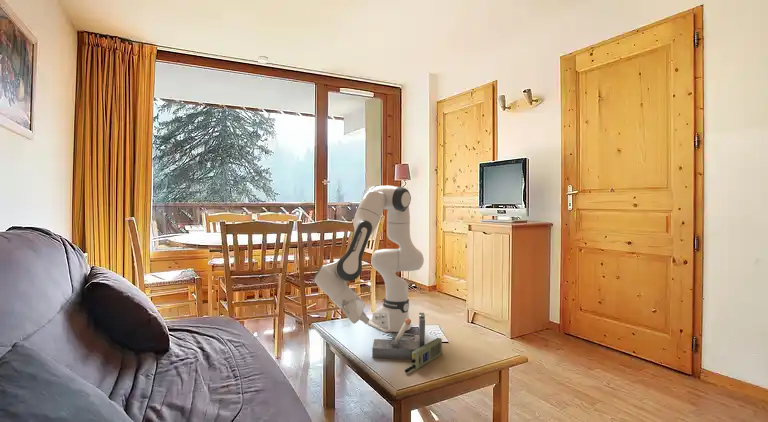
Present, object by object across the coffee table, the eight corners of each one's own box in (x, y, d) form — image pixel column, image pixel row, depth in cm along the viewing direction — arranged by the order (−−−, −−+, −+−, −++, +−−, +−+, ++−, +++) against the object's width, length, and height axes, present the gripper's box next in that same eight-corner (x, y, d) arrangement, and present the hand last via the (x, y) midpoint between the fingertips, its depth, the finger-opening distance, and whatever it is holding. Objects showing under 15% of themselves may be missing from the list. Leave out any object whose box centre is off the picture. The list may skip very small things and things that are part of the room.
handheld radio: (443, 354, 168) (409, 376, 148) (436, 352, 170) (402, 373, 150) (443, 338, 168) (409, 357, 148) (436, 337, 170) (402, 355, 150)
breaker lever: (392, 342, 167) (406, 318, 166) (392, 340, 169) (406, 316, 168) (398, 345, 166) (412, 321, 166) (398, 343, 169) (412, 319, 168)
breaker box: (372, 357, 164) (372, 317, 163) (374, 348, 174) (374, 310, 173) (424, 359, 162) (425, 318, 162) (423, 349, 172) (424, 311, 172)
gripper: (346, 299, 157) (371, 325, 157) (353, 287, 178) (375, 309, 178) (335, 310, 158) (359, 336, 158) (343, 297, 178) (365, 319, 178)
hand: (368, 322), depth 168 cm, fingers closed
